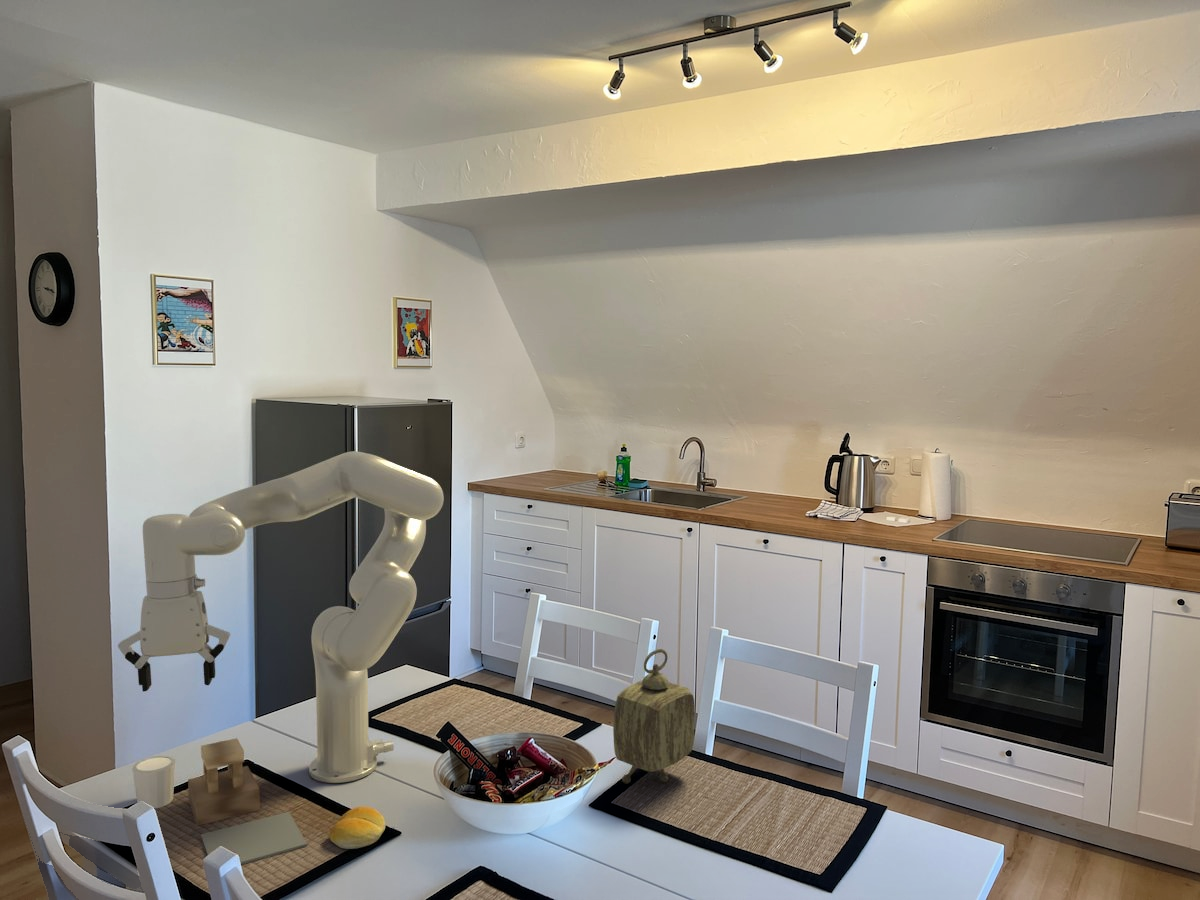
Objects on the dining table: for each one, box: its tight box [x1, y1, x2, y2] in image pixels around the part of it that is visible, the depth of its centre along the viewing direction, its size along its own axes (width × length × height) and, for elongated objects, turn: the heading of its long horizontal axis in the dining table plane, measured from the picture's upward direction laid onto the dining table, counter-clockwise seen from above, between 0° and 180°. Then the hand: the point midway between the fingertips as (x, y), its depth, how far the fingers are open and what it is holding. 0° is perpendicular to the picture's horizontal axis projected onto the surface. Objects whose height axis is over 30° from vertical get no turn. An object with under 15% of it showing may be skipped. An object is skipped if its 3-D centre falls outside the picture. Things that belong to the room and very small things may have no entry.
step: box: [187, 765, 261, 826], centre depth 152 cm, size 10×10×4 cm
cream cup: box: [131, 755, 176, 809], centre depth 154 cm, size 7×7×7 cm
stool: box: [200, 737, 245, 794], centre depth 152 cm, size 6×6×6 cm
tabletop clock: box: [612, 648, 696, 784], centre depth 163 cm, size 14×9×25 cm, turn 139°
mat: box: [200, 811, 308, 865], centre depth 141 cm, size 14×12×1 cm
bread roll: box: [328, 806, 386, 850], centre depth 143 cm, size 8×9×4 cm
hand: (178, 685), depth 148 cm, fingers open, 9 cm apart
